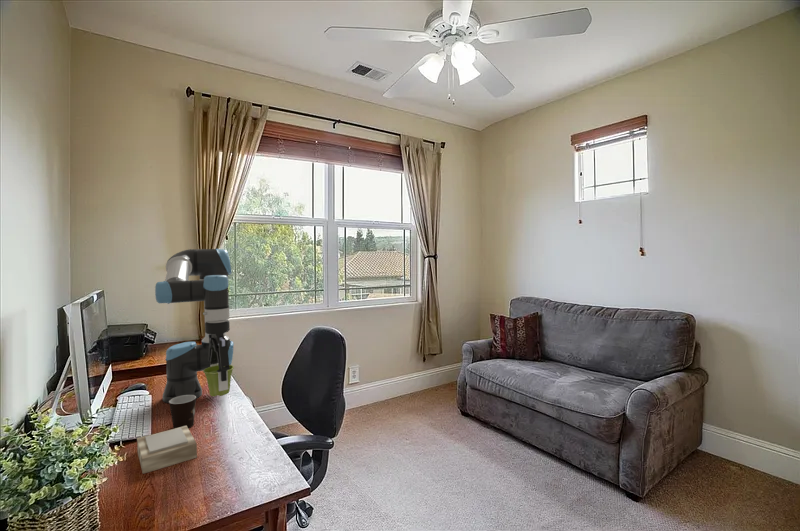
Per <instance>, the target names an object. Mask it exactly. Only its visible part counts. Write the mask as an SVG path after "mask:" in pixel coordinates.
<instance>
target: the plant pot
mask: <svg viewBox="0 0 800 531" xmlns="http://www.w3.org/2000/svg"><path fill="white" fill-rule="evenodd" d="M224 367H225V366H224ZM229 367H230V369H229V370H227V371H228V390H223V391H219V382H218V372H217V370H219V366H218V365H216V366H212V367H208V368H206V369H204V370H203V371H202V372H203V374H204V375H205V377H206V381H207V382H206V383H207V387H208V391H209V392H208V393H209V396H211V397H217V396H218V397H222V396H225V395H228V394H229V392H230V390H231V381H232V373H233V370H234V369H235V368H234V367H235V366H234V365H232V364H231V365H229Z"/></svg>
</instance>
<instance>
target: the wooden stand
mask: <svg viewBox="0 0 800 531" xmlns="http://www.w3.org/2000/svg"><path fill="white" fill-rule="evenodd" d="M189 429H190V428H188V427H187V425H186V426H183V427H179V428H175V429H174V428H172V429H168V430H164V431H160V432H156V433H153V434H152V433H151V434H148V435H145V436H140V437H137V438H136V445H137V446H136V447H137V456H138V460H139V464H140V467H141V468H140V469H141V473H142V474H147V473H151V472H154V471H157V470H161V469H163V468H167V467H170V466H174V465H176V464H180V463H183V462H186V461H187V462H188V461H190V460H192V459H196V458H198V450H197V449H198V446H197V445H198V444H197V442H196V440H195V438H194V436H193V435H192V433H191V430H189Z"/></svg>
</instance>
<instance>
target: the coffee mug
mask: <svg viewBox="0 0 800 531" xmlns="http://www.w3.org/2000/svg"><path fill="white" fill-rule="evenodd" d="M196 402H197V398H196V396H194V395H183V396H178V397H175V398H173V399H171V400H170V401H169V403H168V404H169V410H170V415H171V422H172V429H175V428H179V427H183V426H186V425H187V427H188V429H191V428H192V427H193V426H194V425H195V424H194V423H195V415H196V414H195V413H196Z"/></svg>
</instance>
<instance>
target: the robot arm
mask: <svg viewBox="0 0 800 531" xmlns="http://www.w3.org/2000/svg"><path fill="white" fill-rule="evenodd" d="M165 271H166V275H165V279H164V280H163V281H158V282H156V284H155V286H154V288H155V289H154V291H155V292H154V293H155V296H154V297H155V300H156V302H157V303H158V304H167V305H169V304H177V303H178V304H179V303H191V302H203V305H204V306H203V310H204V312H202V315H203V316H204V337H203V338H202V339H201V343H200V344H197V343H196V341H185V342H181V343H177V344H173V345H172V346H169V347H168V348H167V349H166V351H165V361H166V362H165V364H166V366H165V367H166V368H165V369H166V382H165V383H166V384H165V386H164V389H163V392H162V402H163V403H166V404H169V401H170V400H171V399H173V398H175V397H178V396H183V395H194V396H196V399H198V398H200V397H201V396H202V395H203V388H202V385H201V383H200V381H199V378H198V372H203V370H204V369H206V368H208V367H212V366H216V365H218V366H219V370H217V372H218V382H219V391H223V390H228V371H227V370H229V369H230V367H229V365H232V363H233V362H232V361H233V359H234V358H233V357H234V344H235V342H234V341H232V340H231V338H230V336H229V335H228V334H227V333H229V331H230V329H231V328H230V320H229V319H230V306H229V305H230V304H229V299H230V298H229V285H230V284H229V276H230V275H232V272H233V271H232V265H231V259H230V255H229V251H228V250H227V249H221V248H198V249H197V248H193V249H192V248H190V249H189V248H188V249H184V250H181V251H179V252H177V253H175V254H173V255H172V256H170V257H169V258H168V260H167V262H166V263H165ZM190 276H191V277H193V276H194V277H196V276H197V277H198V276H199V280H198V279H197V280H196V279H194V280H193V279H192V280H189V279H190ZM224 366H225V367H224Z"/></svg>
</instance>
